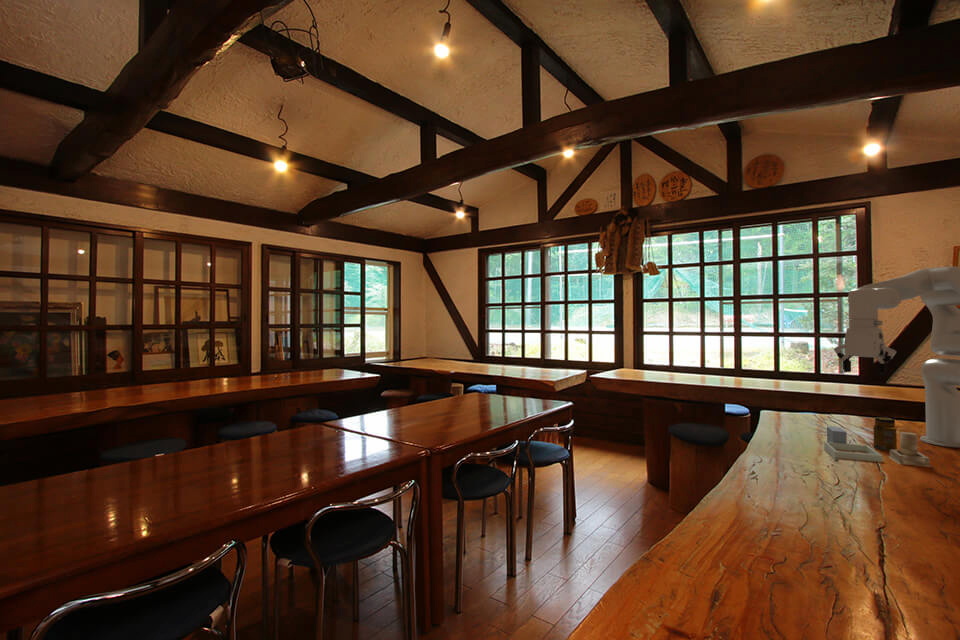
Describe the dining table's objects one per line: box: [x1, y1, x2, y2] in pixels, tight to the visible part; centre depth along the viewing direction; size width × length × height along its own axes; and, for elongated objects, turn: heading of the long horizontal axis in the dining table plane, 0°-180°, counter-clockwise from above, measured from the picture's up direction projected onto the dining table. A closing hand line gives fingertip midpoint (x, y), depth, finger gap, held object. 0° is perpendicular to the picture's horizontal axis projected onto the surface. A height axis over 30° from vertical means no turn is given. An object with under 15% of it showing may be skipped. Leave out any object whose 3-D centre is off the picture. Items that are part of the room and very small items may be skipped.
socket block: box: [887, 449, 932, 468], centre depth 141 cm, size 8×8×4 cm
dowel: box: [899, 431, 919, 457], centre depth 141 cm, size 4×4×9 cm
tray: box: [823, 441, 884, 463], centre depth 150 cm, size 12×12×3 cm
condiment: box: [872, 416, 898, 453], centre depth 154 cm, size 7×8×12 cm
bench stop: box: [826, 425, 848, 444], centre depth 160 cm, size 4×7×7 cm, turn 155°
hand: (864, 373), depth 151 cm, fingers open, 9 cm apart
